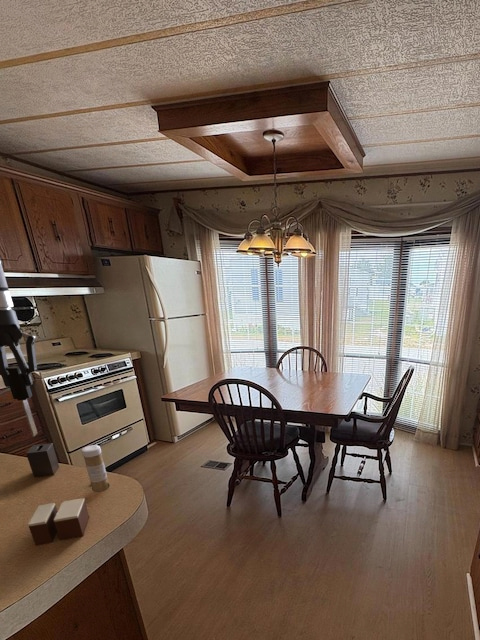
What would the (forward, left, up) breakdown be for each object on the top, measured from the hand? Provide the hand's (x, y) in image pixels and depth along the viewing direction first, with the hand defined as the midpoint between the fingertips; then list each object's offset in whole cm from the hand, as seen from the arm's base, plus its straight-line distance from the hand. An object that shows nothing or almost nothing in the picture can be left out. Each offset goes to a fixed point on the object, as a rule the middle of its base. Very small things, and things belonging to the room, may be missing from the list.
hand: (23, 397), depth 96 cm
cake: (+30, +13, -26) cm, 42 cm away
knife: (0, 0, -11) cm, 11 cm away
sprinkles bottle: (+11, +16, -27) cm, 33 cm away
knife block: (-2, 0, -26) cm, 27 cm away
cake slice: (+30, +7, -26) cm, 41 cm away
